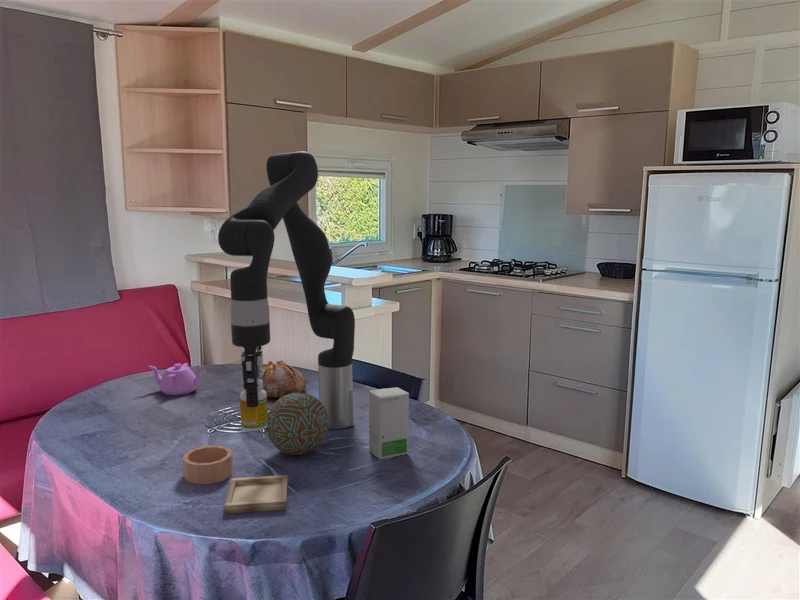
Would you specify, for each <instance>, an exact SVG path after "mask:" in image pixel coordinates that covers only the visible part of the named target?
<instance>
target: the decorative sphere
mask: <svg viewBox="0 0 800 600" xmlns="http://www.w3.org/2000/svg"><path fill="white" fill-rule="evenodd" d="M328 424H329V420H328V415H327V412H326V409H325V407H324V406H323V404H322V403H321V402H320V401H319V398H316V397H315V396H314V395H312V394H309V393H306V392H301V393H297V392H296V393H290V394H287V395H286V396H283V397H281V398H277V400H276V401H275V402H274V403H273V405H272V406H271V408H270V410H269V411H268V426H267V427H266V428H265V429H266V431H267V436H268V438H269V441H270V442H271V444H273V446H274V447H275V448H277V450H279V451H281V452H282V453H285V454H287V455H291V456H302V455H306V454H309V453H311V452H312V451H314V450H316V449H317V448H318V447H319V446H320V445H321V444H322V443H323V442H324V441H325V439H326V436H327V434H328V431H329V429H328Z"/></svg>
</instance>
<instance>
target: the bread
mask: <svg viewBox="0 0 800 600" xmlns="http://www.w3.org/2000/svg"><path fill="white" fill-rule="evenodd" d="M259 379H261V380H262V381H263V388H262V389H263V390H265V391H266V393H267V399H269V398H270V399H272V398H273V399H280V398H281V397H283V396H286V395H287V394H290V393H296V392H297V393H304V391H305V390H306V387H307V381H306V378H305V377H304V375H303V373H302V372H301V371H299V370H298V369H296V368H294V367H292V366H291V365H289V364H287V363H286V362H285V361H283V360H278V361H276V363H274V362H272V361H271V360H269V361H268V362H267V364H266V365H262V371H261V378H259Z"/></svg>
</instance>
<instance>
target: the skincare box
mask: <svg viewBox="0 0 800 600" xmlns="http://www.w3.org/2000/svg"><path fill="white" fill-rule="evenodd" d="M368 395H369V396H368V397H369V398H368V399H369V400H368V401H369V404H368V405H369V407H368V408H369V409H368V410H369V411H368V412H369V413H368V422H369V423H368V424H369V425H368V429H369V430H368V449H369V450H368V451H369V452H370V453H371V454H372V455H374V457H375V458H377V459H378V460H385V459H390V458H394V457H395V456H396V457H398V456H399V457H401V456H405V454H406V455H409V439H410V438H409V432H410V430H409V426H410V424H409V423H410V422H409V421H410V420H409V419H410V393H409V392H408V391H405V390H403V389H402V388H400V387H388V388H379V389H371V390H369V391H368ZM400 455H401V456H400Z"/></svg>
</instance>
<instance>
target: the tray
mask: <svg viewBox="0 0 800 600" xmlns="http://www.w3.org/2000/svg"><path fill="white" fill-rule="evenodd" d="M288 486H289V474H281V475H267V476H266V475H265V476H250V477H247V476H246V477H236V478H235V477H233V478H231V480H230V483H229V487H228V492H227V494H226V499H225V503H224V514H225V515H226V514H227V515H228V514H242V513H243V514H245V513H258V512H271V511H285V510H287V501H288Z"/></svg>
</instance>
